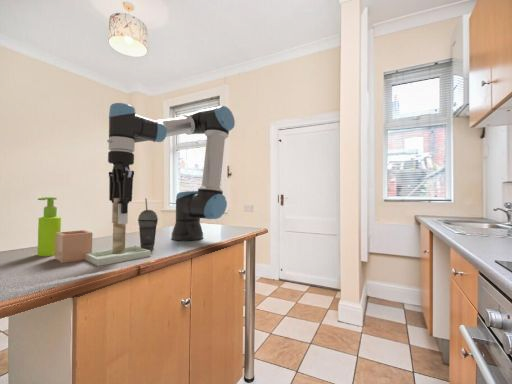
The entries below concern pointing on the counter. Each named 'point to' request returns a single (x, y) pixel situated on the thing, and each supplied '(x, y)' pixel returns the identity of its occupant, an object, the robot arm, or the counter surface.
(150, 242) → the beverage cup
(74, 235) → the pot
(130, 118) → the robot arm
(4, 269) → the counter surface
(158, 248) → the counter surface
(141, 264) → the counter surface
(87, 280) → the counter surface
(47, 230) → the soap dispenser
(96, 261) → the tray
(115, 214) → the dowel
